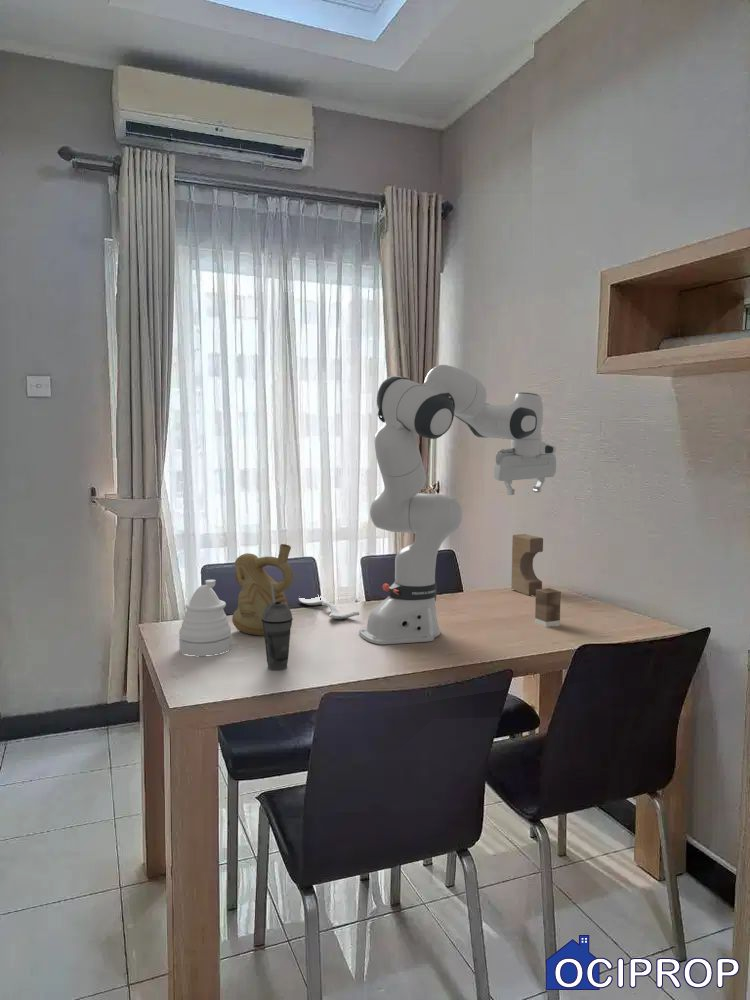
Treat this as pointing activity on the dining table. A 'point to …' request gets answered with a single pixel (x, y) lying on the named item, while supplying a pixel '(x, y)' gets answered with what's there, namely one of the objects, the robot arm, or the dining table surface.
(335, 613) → the white slender handled part
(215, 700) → the dining table surface
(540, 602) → the walnut block
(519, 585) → the decorative block
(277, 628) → the beverage cup
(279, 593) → the ceramic vessel
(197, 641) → the honey pot
